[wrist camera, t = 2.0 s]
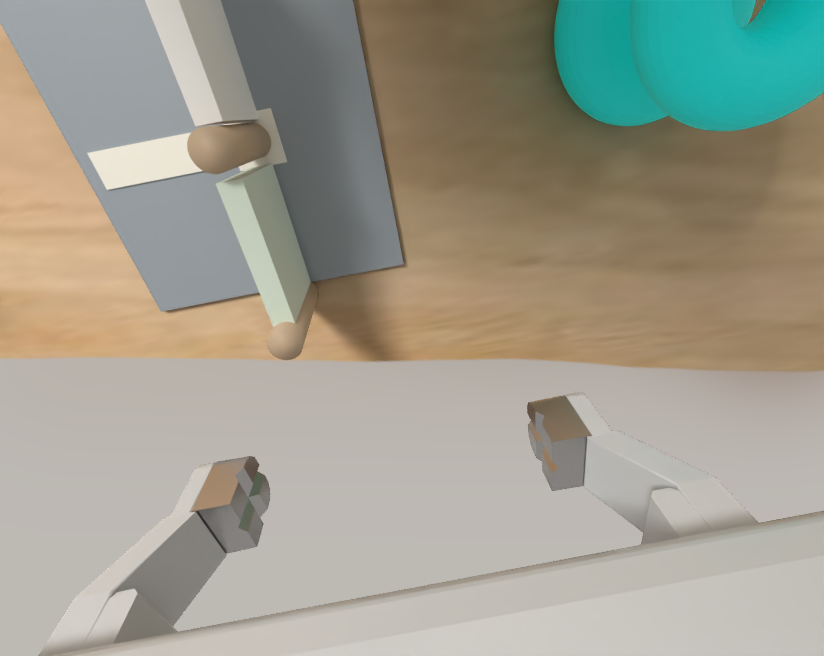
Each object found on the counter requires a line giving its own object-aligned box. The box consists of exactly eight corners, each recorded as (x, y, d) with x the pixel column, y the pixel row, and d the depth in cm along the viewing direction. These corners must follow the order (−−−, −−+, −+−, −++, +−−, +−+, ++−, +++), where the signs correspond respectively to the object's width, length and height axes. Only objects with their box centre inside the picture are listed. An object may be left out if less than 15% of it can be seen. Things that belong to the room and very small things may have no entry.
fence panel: (247, 168, 23) (200, 188, 16) (277, 162, 23) (241, 180, 16) (296, 306, 27) (273, 362, 21) (321, 301, 27) (306, 356, 21)
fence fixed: (148, -114, 17) (23, -240, 11) (188, -122, 17) (85, -253, 11) (245, 160, 23) (198, 178, 17) (276, 154, 23) (240, 169, 16)
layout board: (-40, -59, 18) (-48, -62, 17) (327, -133, 17) (326, -138, 17) (163, 309, 27) (160, 312, 27) (403, 262, 27) (403, 264, 26)
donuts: (617, -87, 12) (998, -428, 9) (512, -2, 20) (695, -166, 18) (709, 187, 16) (985, 1, 14) (590, 161, 25) (746, 45, 22)
